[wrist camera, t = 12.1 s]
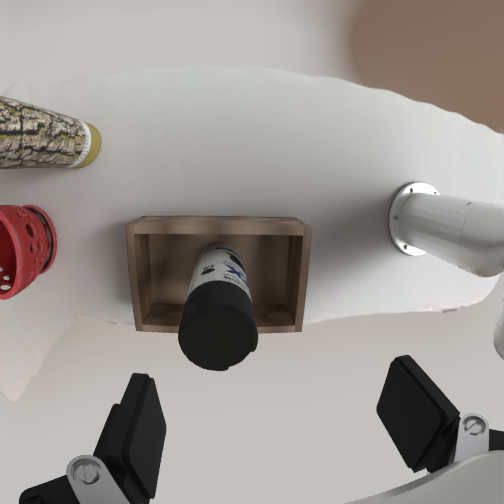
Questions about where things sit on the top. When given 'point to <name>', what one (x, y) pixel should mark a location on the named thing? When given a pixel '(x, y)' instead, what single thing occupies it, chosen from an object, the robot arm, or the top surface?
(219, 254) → the spray can
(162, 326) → the walnut box
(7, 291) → the plant pot
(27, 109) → the paper tube
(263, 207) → the top surface
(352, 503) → the robot arm
